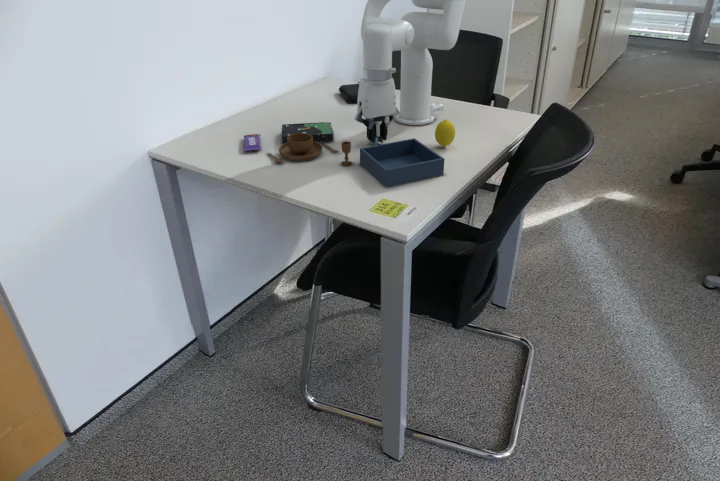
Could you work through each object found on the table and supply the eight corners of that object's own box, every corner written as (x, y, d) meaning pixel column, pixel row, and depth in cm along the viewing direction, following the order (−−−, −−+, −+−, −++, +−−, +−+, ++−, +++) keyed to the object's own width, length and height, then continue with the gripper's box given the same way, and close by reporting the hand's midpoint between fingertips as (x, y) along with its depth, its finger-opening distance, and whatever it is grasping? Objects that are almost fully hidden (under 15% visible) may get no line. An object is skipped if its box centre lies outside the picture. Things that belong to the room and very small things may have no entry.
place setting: (319, 140, 157) (318, 121, 154) (355, 164, 143) (355, 143, 140) (263, 153, 149) (261, 133, 146) (296, 180, 135) (294, 158, 132)
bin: (413, 153, 148) (414, 138, 146) (443, 175, 136) (444, 158, 134) (360, 164, 143) (359, 148, 140) (386, 187, 131) (386, 170, 128)
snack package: (261, 145, 149) (242, 147, 148) (261, 152, 150) (243, 154, 150) (260, 131, 159) (242, 132, 158) (260, 137, 160) (243, 138, 159)
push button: (389, 147, 152) (390, 113, 147) (371, 150, 151) (371, 115, 145) (381, 139, 157) (382, 105, 152) (364, 141, 156) (364, 107, 151)
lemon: (442, 141, 155) (444, 114, 151) (457, 147, 152) (460, 119, 148) (430, 147, 152) (431, 119, 148) (445, 152, 149) (447, 124, 144)
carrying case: (377, 101, 187) (365, 89, 199) (377, 93, 185) (365, 81, 198) (347, 104, 185) (337, 92, 197) (347, 95, 183) (337, 84, 195)
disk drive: (282, 145, 154) (334, 142, 156) (281, 136, 153) (333, 132, 154) (282, 133, 163) (331, 129, 165) (281, 124, 162) (330, 120, 163)
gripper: (398, 67, 149) (396, 131, 159) (343, 74, 144) (345, 140, 153) (411, 73, 144) (408, 139, 153) (355, 81, 138) (356, 149, 148)
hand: (377, 139), depth 153 cm, fingers closed on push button, 3 cm apart
